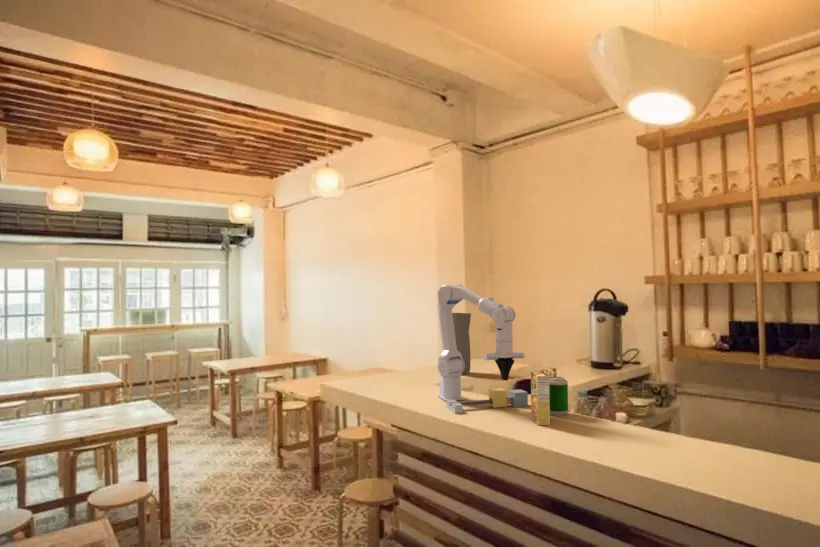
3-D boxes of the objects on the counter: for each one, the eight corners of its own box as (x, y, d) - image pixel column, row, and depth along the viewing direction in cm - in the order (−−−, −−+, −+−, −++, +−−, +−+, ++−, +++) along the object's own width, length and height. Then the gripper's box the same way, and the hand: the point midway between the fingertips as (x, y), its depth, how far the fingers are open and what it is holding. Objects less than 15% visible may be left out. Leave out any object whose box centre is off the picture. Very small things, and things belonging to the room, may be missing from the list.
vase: (476, 372, 246) (475, 313, 247) (461, 376, 237) (460, 314, 238) (457, 370, 254) (456, 312, 255) (442, 373, 245) (441, 313, 246)
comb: (446, 407, 175) (446, 400, 175) (454, 406, 175) (454, 399, 175) (455, 413, 166) (454, 405, 166) (463, 412, 167) (463, 405, 167)
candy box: (530, 418, 159) (529, 370, 160) (543, 417, 159) (542, 370, 160) (537, 425, 150) (536, 375, 151) (551, 425, 150) (550, 375, 151)
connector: (504, 404, 178) (504, 390, 178) (521, 403, 180) (520, 389, 180) (511, 407, 173) (510, 393, 174) (527, 406, 175) (527, 392, 175)
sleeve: (489, 405, 176) (488, 389, 176) (501, 404, 177) (501, 388, 178) (493, 407, 172) (493, 391, 172) (506, 406, 173) (506, 390, 174)
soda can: (569, 417, 160) (568, 380, 160) (545, 416, 161) (545, 379, 161) (567, 411, 167) (566, 376, 167) (544, 410, 168) (543, 375, 169)
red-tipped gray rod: (453, 409, 169) (453, 401, 169) (450, 407, 172) (450, 399, 172) (513, 404, 175) (513, 397, 175) (510, 402, 177) (510, 395, 178)
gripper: (489, 342, 165) (490, 383, 165) (528, 341, 169) (529, 380, 168) (481, 340, 172) (482, 379, 172) (518, 339, 176) (519, 377, 175)
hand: (504, 379), depth 170 cm, fingers closed
